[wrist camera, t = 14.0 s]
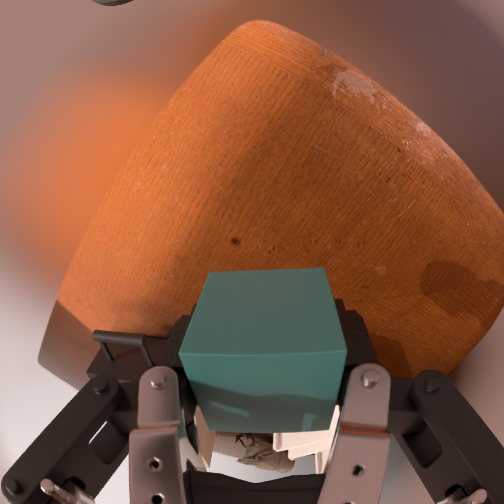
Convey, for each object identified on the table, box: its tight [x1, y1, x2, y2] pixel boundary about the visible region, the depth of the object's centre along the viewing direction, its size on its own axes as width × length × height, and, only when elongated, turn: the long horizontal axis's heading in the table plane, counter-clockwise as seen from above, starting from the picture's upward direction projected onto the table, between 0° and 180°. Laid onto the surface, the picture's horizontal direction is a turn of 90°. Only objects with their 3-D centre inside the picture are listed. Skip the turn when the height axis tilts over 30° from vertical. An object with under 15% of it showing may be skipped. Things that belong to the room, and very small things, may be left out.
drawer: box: [86, 330, 168, 383], centre depth 34 cm, size 18×12×8 cm, turn 4°
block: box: [179, 267, 348, 433], centre depth 10 cm, size 4×4×4 cm
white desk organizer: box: [273, 405, 340, 474], centre depth 34 cm, size 25×11×11 cm, turn 33°
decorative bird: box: [236, 433, 295, 473], centre depth 45 cm, size 5×16×8 cm, turn 42°
